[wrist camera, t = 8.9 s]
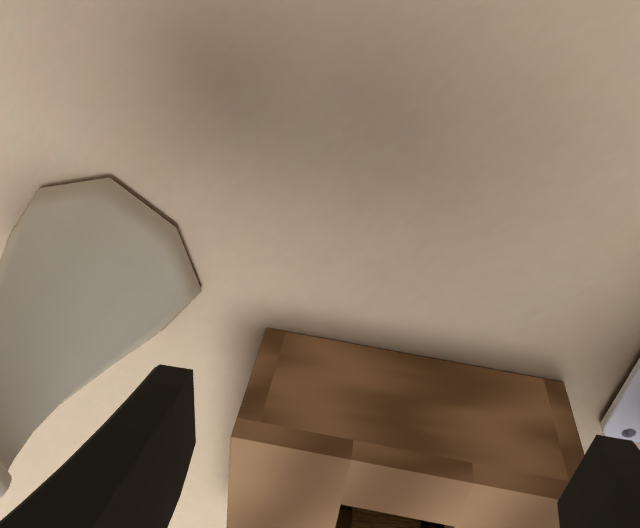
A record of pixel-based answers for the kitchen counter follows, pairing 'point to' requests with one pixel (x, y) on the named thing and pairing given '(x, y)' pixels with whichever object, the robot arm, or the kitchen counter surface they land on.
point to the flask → (80, 297)
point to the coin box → (395, 440)
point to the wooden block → (380, 520)
